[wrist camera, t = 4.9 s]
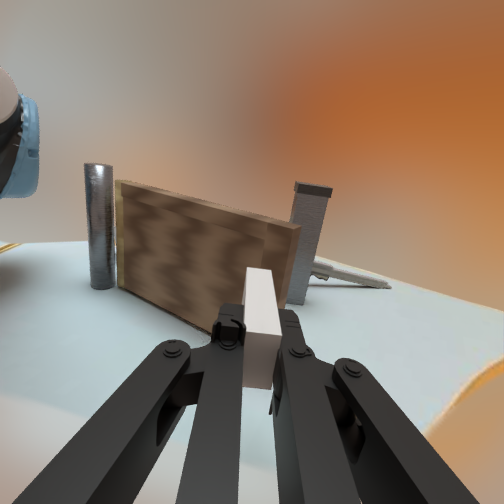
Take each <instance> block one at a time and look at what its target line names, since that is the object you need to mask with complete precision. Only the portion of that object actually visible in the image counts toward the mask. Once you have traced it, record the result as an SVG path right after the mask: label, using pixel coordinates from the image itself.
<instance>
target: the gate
mask: <svg viewBox="0 0 504 504" xmlns="http://www.w3.org/2000/svg"><path fill="white" fill-rule="evenodd" d="M115 207H116V250H117V285H118V286H119V287H124V288H126V289H128V290H130V291H131V292H133V293H135V294H137V295H139V296H141V297H143V298H145V299H147V300H149V301H151V302H153V303H154V304H156V305H158V306H160V307H162V308H164V309H166V310H168V311H170V312H172V313H174V314H176V315H177V316H179V317H181V318H183V319H185V320H187V321H189V322H191V323H193V324H195V325H197V326H199V327H201V328H202V329H204V330H206V331H208V332H210V333H212V327H213V323H214V322H215V321H216V320H217V318H218V313H219V309H220V307H221V306H222V305H223V304H224V303H232V304H240V305H242V299H243V292H244V285H245V278H246V271H247V267H250V268H258V269H266V270H271V272H272V278H273V284H274V290H275V296H276V302H277V308H279V309H284V308H285V303H286V299H287V294H288V289H289V284H290V280H291V275H292V270H293V265H294V261H295V256H296V251H297V247H298V242H299V237H300V232H301V228H302V226H301V225H297V224H293V223H289V222H285V221H282V220H277V219H274V218H270V217H266V216H262V215H259V214H254V213H251V212H247V211H243V210H239V209H235V208H232V207H228V206H224V205H220V204H216V203H212V202H208V201H205V200H201V199H197V198H193V197H190V196H186V195H182V194H178V193H174V192H170V191H167V190H163V189H159V188H155V187H151V186H148V185H144V184H140V183H136V182H132V181H126V180H115Z"/></svg>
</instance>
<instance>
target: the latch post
mask: <svg viewBox="0 0 504 504" xmlns="http://www.w3.org/2000/svg"><path fill="white" fill-rule="evenodd" d="M332 190H333V188H330V187H328V186H323V185H317V184H310V183H303V182H297V181H296V182H295V187H294V191H295V196H294V201H293V206H292V212H291V216H290V221H289V223H293V224H297V225H301V226H302V228H301V232H300V237H299V242H298V247H297V251H296V256H295V261H294V265H293V270H292V275H291V280H290V284H289V289H288V294H287V299H286V303H290V304H298V305H303V304H304V300H305V296H306V291H307V287H308V283H309V279H310V275H311V270H312V266H313V262H314V258H315V253H316V249H317V244H318V241H319V236H320V232H321V228H322V224H323V219H324V215H325V211H326V207H327V202H328V198H331V194H332Z"/></svg>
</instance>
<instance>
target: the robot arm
mask: <svg viewBox="0 0 504 504" xmlns="http://www.w3.org/2000/svg"><path fill="white" fill-rule="evenodd" d="M38 153H39V116H38V108H37V104H36V103H35V101H34V100H32V99H31V98H28V97H25V96H24V95H23V94H18V92H17V89H16V86H15V84H14V82H13V80H12V78H11V77H10V76H9V74H8V73H7V72H6V71H5V70H4V69H3V68H2V67H1V66H0V199H2V198H25V197H29V196H31V195H32V194H33V193H34V192H35V191H36V189H37V185H38V178H39V154H38ZM272 382H273V388H274V390H273V395H272V400H271V405H270V410H269V415H271V414H272V412H273V425H274V438H275V451H276V465H277V478H278V491H279V504H361V502H362V504H480V503H479V502H478V501H477V500H476V499H475V498H474V496H473V495H472V494H471V493H470V491H469V490H468V489H467V488H466V487H465V486H464V484H463V483H462V482H461V481H460V480H459V478H458V477H457V476H456V475H455V474H454V472H453V471H452V470H451V469H450V468H449V466H448V465H447V464H446V463H445V462H444V461H443V459H442V458H441V457H440V456H439V454H438V453H437V452H436V451H435V450H434V449H433V447H432V446H431V445H430V444H429V442H428V441H427V440H426V439H425V438H424V436H423V435H422V434H421V433H420V432H419V430H418V429H417V428H416V427H415V426H414V424H413V423H412V422H411V421H410V420H409V418H408V417H407V416H406V415H405V414H404V412H403V411H402V410H401V409H400V408H399V406H398V405H397V404H396V403H395V402H394V400H393V399H392V398H391V397H390V396H389V394H388V393H387V392H386V391H385V390H384V389H383V387H382V386H381V385H380V384H379V383H378V381H377V380H376V379H375V378H374V377H373V375H372V374H371V373H370V372H369V371H368V369H367V368H366V367H365V366H363V365H362V364H361V363H359V362H357V361H355V360H352V359H349V358H341V359H338V360H337V361H336V362H335V365H332V364H329V363H326V362H324V361H321V360H319V359H317V358H316V357H315V354H314V352H313V351H312V349H311V348H310V347H308V346H307V345H306V343H305V339H304V336H303V332H302V329H301V325H300V322H299V318H298V316H297V315H296V314H295V312H294V311H293V310H287V309H279V308H277V302H276V296H275V290H274V284H273V278H272V272H271V270H266V269H258V268H250V267H247V271H246V278H245V285H244V292H243V299H242V305H240V304H232V303H224V304H223V305H222V306H221V307H220V309H219V313H218V318H217V320H216V321H215V322H214V323H213V327H212V336H211V342H210V343H209V344H207V345H206V346H203V347H200V348H193V349H190V346H189V345H188V344H187V343H186V342H184V341H181V340H175V339H174V340H167V341H164V342H162V343H160V344H159V345H158V346H156V347H155V349H154V350H153V351H152V352H151V353H150V354H149V355H148V356H147V357H146V358H145V359H144V360H143V362H142V363H141V364H140V365H139V366H138V367H137V368H136V369H135V370H134V371H133V372H132V374H131V375H130V376H129V377H128V378H127V379H126V380H125V381H124V382H123V383H122V384H121V385H120V387H119V388H118V389H117V390H116V391H115V392H114V393H113V394H112V395H111V396H110V397H109V399H108V400H107V401H106V402H105V403H104V404H103V405H102V406H101V407H100V408H99V409H98V410H97V412H96V413H95V414H94V415H93V416H92V417H91V418H90V419H89V420H88V421H87V422H86V424H85V425H84V426H83V427H82V428H81V429H80V430H79V431H78V432H77V433H76V434H75V435H74V437H73V438H72V439H71V440H70V441H69V442H68V443H67V444H66V445H65V446H64V447H63V449H62V450H61V451H60V452H59V453H58V454H57V455H56V456H55V457H54V458H53V459H52V461H51V462H50V463H49V464H48V465H47V466H46V467H45V468H44V469H43V470H42V472H41V473H39V475H38V476H37V477H36V478H35V479H34V480H33V481H32V482H31V483H30V485H28V487H27V488H26V489H25V490H24V491H23V492H22V493H21V494H20V495H19V496H18V498H16V500H15V501H14V502H13V503H12V504H133V502H134V500H135V498H136V496H137V495H138V493H139V491H140V490H141V488H142V486H143V484H144V482H145V481H146V479H147V477H148V475H149V473H150V472H151V470H152V468H153V466H154V464H155V463H156V461H157V459H158V457H159V456H160V454H161V452H162V450H163V449H164V447H165V445H166V443H167V441H168V440H169V438H170V436H171V434H172V432H173V431H174V429H175V427H176V425H177V424H178V422H179V420H180V418H181V416H182V415H183V413H184V411H185V409H186V406H188V405H193V404H197V408H196V412H195V417H194V421H193V426H192V430H191V435H190V439H189V444H188V449H187V453H186V458H185V462H184V467H183V471H182V476H181V480H180V485H179V489H178V494H177V499H176V503H175V504H238V481H239V456H240V432H241V407H242V387H250V388H259V389H268V390H271V387H272ZM360 500H361V502H360Z"/></svg>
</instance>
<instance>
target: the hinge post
mask: <svg viewBox="0 0 504 504" xmlns="http://www.w3.org/2000/svg"><path fill="white" fill-rule="evenodd" d="M84 174H85V192H86V209H87V224H88V225H87V226H88V243H89V260H90V277H91V287H92V288H94V289H98V290H104V289H109V288H112V287H114V286H115V284H116V281H115V242H114V206H113V205H114V203H113V166H111V165H106V164H98V163H84Z"/></svg>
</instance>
